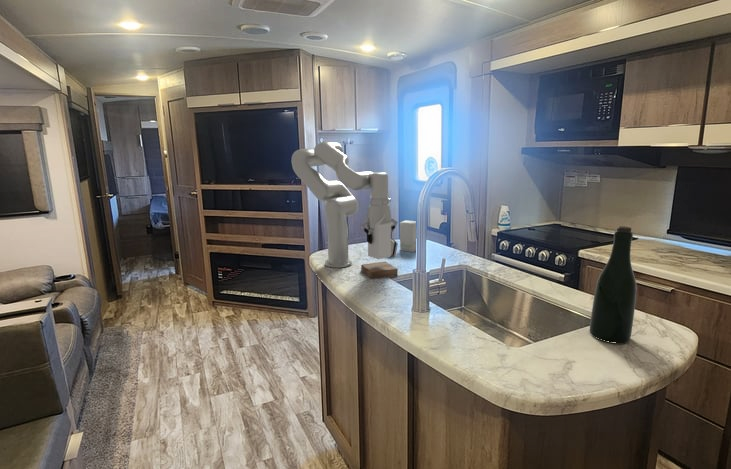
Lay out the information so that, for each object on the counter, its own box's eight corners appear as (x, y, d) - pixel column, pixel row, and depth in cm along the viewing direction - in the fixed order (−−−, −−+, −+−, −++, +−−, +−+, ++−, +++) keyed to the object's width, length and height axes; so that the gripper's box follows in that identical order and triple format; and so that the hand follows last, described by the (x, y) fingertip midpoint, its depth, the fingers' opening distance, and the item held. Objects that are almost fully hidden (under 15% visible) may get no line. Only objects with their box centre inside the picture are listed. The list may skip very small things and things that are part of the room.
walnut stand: (361, 271, 181) (361, 264, 180) (385, 267, 185) (385, 261, 185) (372, 279, 170) (372, 272, 169) (397, 275, 174) (397, 268, 174)
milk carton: (378, 259, 171) (378, 215, 167) (367, 256, 176) (367, 213, 172) (391, 256, 175) (391, 213, 171) (379, 253, 181) (379, 211, 177)
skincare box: (418, 250, 215) (419, 221, 212) (412, 252, 210) (413, 223, 207) (405, 247, 220) (406, 219, 217) (399, 250, 215) (399, 221, 212)
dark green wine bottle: (632, 335, 119) (649, 226, 112) (627, 349, 111) (644, 232, 104) (593, 325, 126) (606, 221, 118) (585, 337, 118) (598, 227, 111)
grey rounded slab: (368, 250, 215) (373, 232, 215) (375, 252, 218) (380, 234, 218) (388, 257, 202) (393, 238, 202) (395, 259, 205) (400, 240, 204)
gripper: (393, 199, 177) (393, 238, 181) (356, 202, 171) (357, 242, 174) (401, 201, 170) (401, 241, 174) (363, 204, 164) (364, 245, 168)
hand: (379, 241), depth 174 cm, fingers closed on milk carton, 8 cm apart
